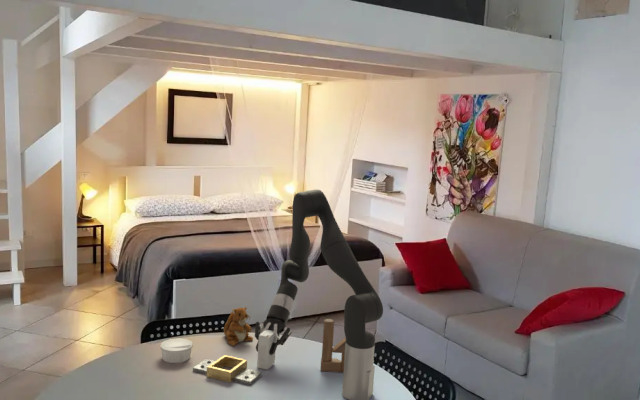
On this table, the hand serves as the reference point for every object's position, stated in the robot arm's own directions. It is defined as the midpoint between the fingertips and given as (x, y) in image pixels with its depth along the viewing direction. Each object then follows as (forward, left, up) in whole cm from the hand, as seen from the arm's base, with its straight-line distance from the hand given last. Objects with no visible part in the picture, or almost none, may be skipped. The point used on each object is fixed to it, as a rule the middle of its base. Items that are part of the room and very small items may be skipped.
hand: (264, 352), depth 189 cm
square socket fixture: (+9, +9, -6) cm, 14 cm away
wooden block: (-23, -11, -6) cm, 26 cm away
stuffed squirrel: (+22, -19, -6) cm, 29 cm away
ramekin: (+31, +7, -6) cm, 32 cm away
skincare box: (0, -2, -6) cm, 6 cm away
